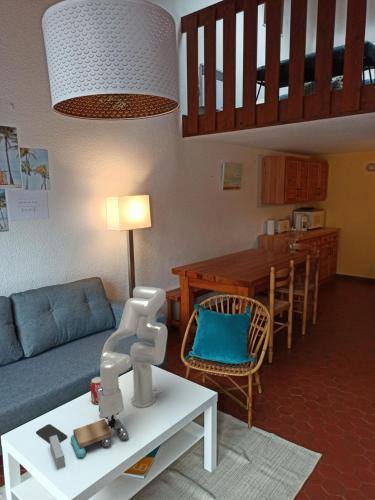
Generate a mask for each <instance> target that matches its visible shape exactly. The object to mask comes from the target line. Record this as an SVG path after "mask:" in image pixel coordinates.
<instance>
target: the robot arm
mask: <svg viewBox="0 0 375 500" xmlns="http://www.w3.org/2000/svg"><path fill="white" fill-rule="evenodd" d="M132 296H133V297H131V298H128V299H126V301H125V305H124V307H123V311H122V314H121V315H122V316H121V320H120V323H119V326H118V328H117V330H116V331H114V332H113V333H112V334H111V335H110V336H109V337H108V339H106V341H105V343H104V345H103V348H102V351H101V355H100V365H99V373H100V374H99V375H100V376H99V377H101V388H100V389H98V393H100V396H99V404H98V412H99V415H98V418H99V419H100V420H103V419H105V420H107V424H108V426H109V427H110V429H111V430H113V428H114V429H115V424H116V421H115V419H117V417H118V415H119V414H120V413H122V412H123V411H124V409H125V406H124V398H123V393H122V389H120V387H119V385H120V383H119V376H120V375H121V374H123V373H125V372H127V371H128V370H130V368H131V367H132V377H133V378H132V379H133V395H132V396H131V397H130V400H131V401H130V402H131V404H132V406H134V407H137V408H147V407H150V406H152V405H154V403H156V400H157V399H156V396H157V395H160V394H161V393H162V390H161V389H160V388H159V389H158V388H153V369H152V365H154V366H159V365H161V364H162V363H164V359H165V355H166V348H167V341H168V327H167V326H166V325H165V323H162V322H156V315H157V314H156V313H157V312H158V311H159V309H161V307H163V305H164V303H165V301H166V299H167V298H166V297H167V293H166V291H165V290H164V289H163V288H159V287H153V286H151V287H150V286H143V285H139V286H136V287H134V288H133V289H132ZM135 334H136V337H137V338H138V339H140V340H143V342H142V341H140V342H139V341H138V342H135V343H133V344H132V345H131V347H130V351H129V352H130V353H129V355H128V354H126V353H121V352H120V353H119V352H115V351H114V348H115V346H116V345H117V343H118V342H119V341H120V340H123V339H124V338H128V337H130V336H131V337H132V336H134V335H135ZM144 341H148V343H147V342H144ZM149 342H154V343H153V344H152V343H149Z"/></svg>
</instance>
